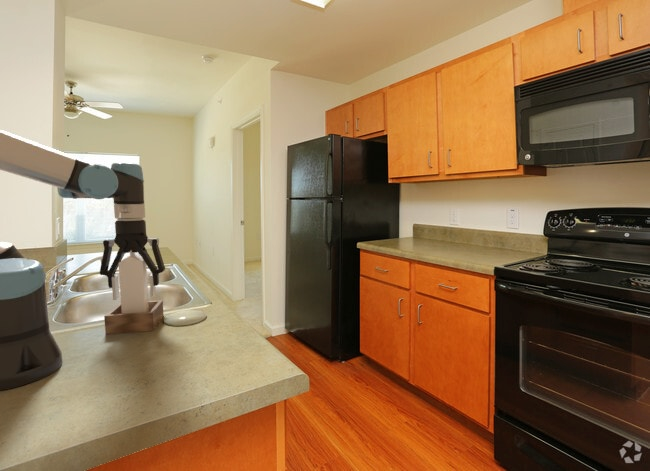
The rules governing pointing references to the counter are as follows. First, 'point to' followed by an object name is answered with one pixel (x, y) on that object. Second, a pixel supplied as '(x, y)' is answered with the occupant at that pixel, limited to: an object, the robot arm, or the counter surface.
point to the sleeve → (133, 319)
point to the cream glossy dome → (184, 318)
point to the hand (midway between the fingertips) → (135, 297)
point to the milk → (133, 284)
